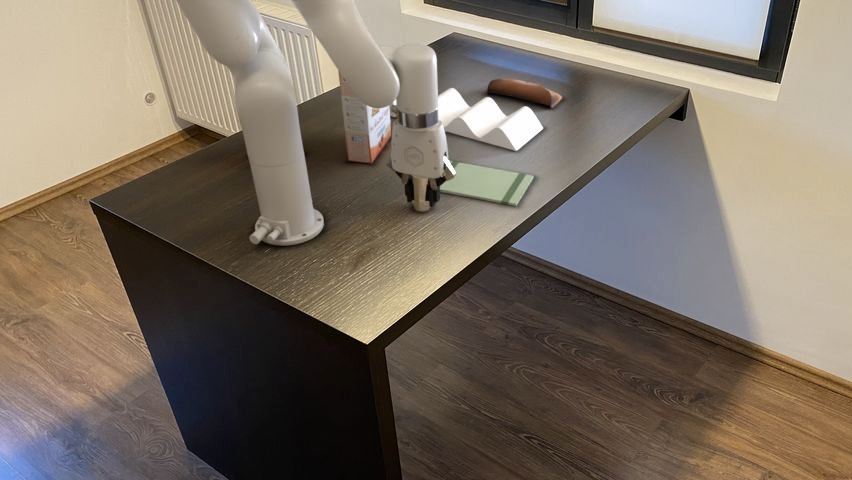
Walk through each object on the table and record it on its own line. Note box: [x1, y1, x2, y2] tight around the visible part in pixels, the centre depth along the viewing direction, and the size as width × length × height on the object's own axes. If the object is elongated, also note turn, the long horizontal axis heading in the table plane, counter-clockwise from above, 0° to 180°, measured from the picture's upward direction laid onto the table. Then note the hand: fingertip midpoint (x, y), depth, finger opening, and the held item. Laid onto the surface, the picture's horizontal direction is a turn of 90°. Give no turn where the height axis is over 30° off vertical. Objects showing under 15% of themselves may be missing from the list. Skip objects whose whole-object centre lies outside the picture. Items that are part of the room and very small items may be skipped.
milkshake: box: [411, 175, 431, 212], centre depth 145 cm, size 4×5×10 cm
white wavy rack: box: [389, 87, 544, 152], centre depth 177 cm, size 13×35×5 cm, turn 60°
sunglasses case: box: [486, 78, 563, 109], centre depth 189 cm, size 18×7×7 cm
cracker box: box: [337, 69, 392, 165], centre depth 161 cm, size 14×6×21 cm, turn 168°
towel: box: [440, 159, 535, 207], centre depth 156 cm, size 12×20×1 cm, turn 71°
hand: (423, 200), depth 147 cm, fingers closed on milkshake, 4 cm apart
